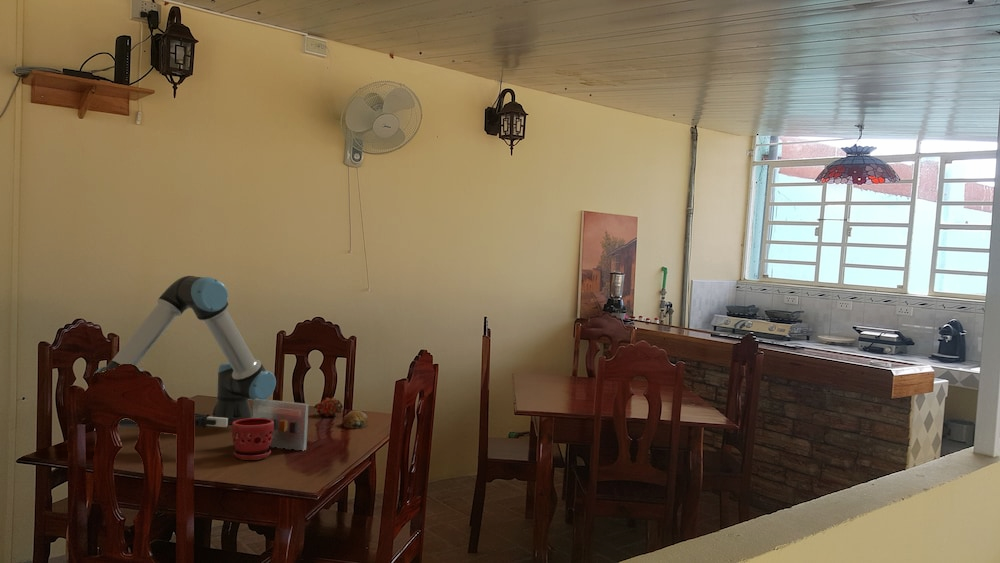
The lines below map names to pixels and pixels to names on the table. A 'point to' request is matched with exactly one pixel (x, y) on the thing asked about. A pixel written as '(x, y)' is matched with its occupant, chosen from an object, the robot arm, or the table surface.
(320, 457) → the table surface
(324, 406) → the dragon fruit
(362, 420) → the bread roll
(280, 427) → the breaker panel
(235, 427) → the plant pot
